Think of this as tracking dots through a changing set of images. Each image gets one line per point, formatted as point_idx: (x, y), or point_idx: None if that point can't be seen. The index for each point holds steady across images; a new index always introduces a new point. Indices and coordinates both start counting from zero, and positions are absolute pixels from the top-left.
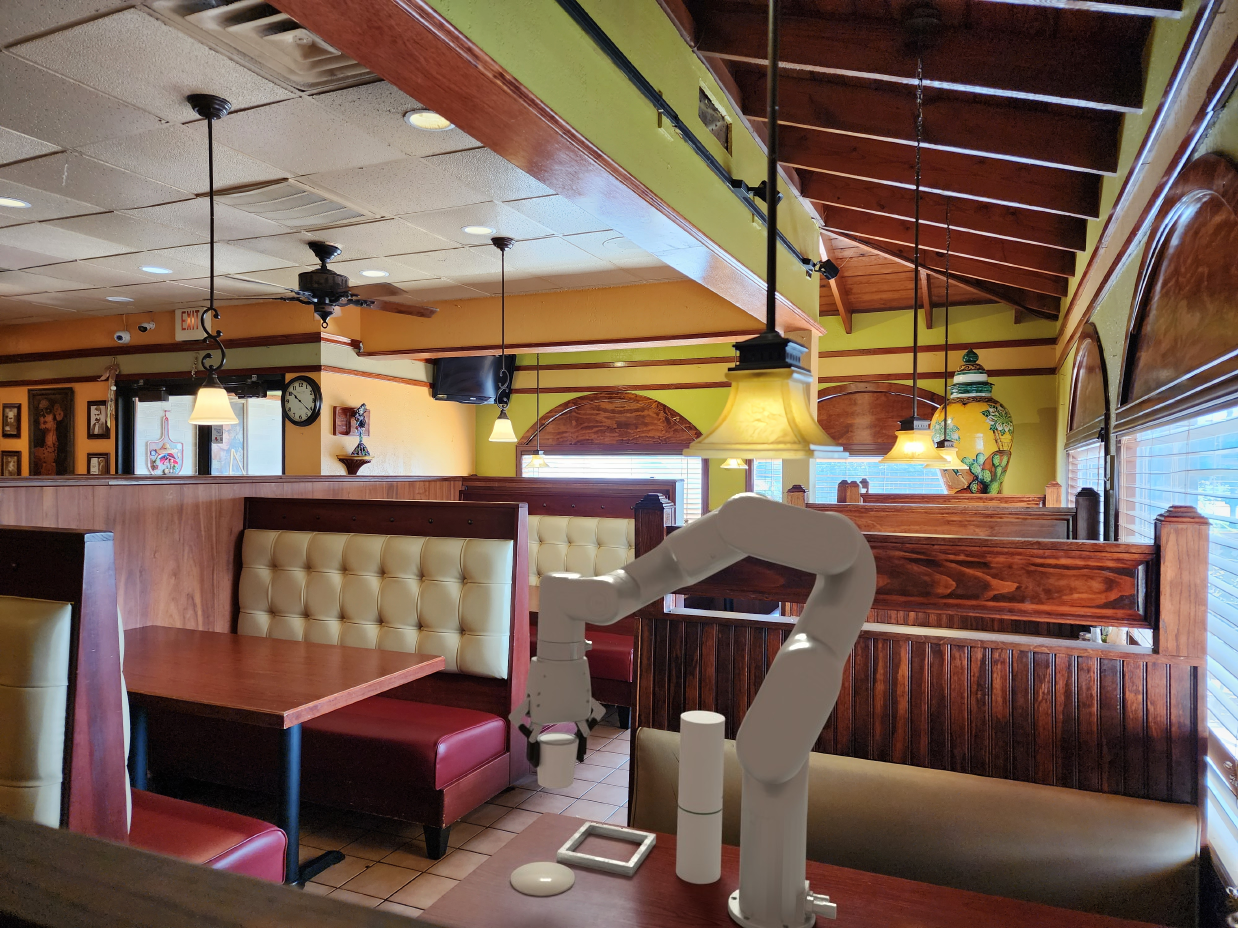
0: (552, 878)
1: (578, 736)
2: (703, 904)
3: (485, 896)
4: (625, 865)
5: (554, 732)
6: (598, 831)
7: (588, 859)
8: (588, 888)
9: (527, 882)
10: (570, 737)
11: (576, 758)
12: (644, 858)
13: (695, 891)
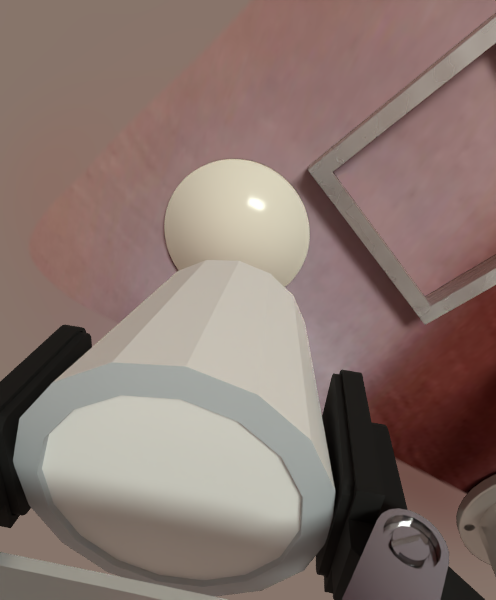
0: (252, 252)
1: (334, 544)
2: (460, 448)
3: (104, 241)
4: (416, 312)
5: (197, 403)
6: None
7: (361, 240)
8: (306, 311)
9: (195, 242)
10: (276, 516)
11: (323, 417)
12: None
13: (487, 414)
